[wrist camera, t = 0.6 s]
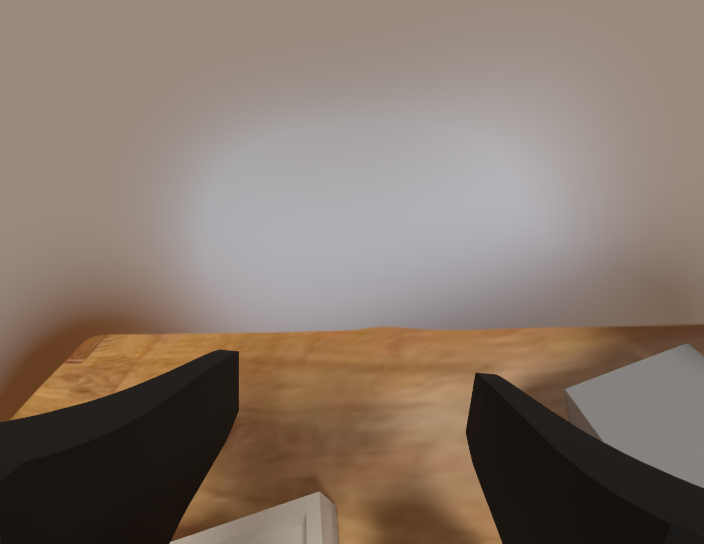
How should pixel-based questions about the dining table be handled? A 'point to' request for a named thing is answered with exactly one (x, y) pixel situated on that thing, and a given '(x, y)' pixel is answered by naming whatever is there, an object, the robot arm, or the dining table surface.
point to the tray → (277, 525)
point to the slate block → (649, 411)
